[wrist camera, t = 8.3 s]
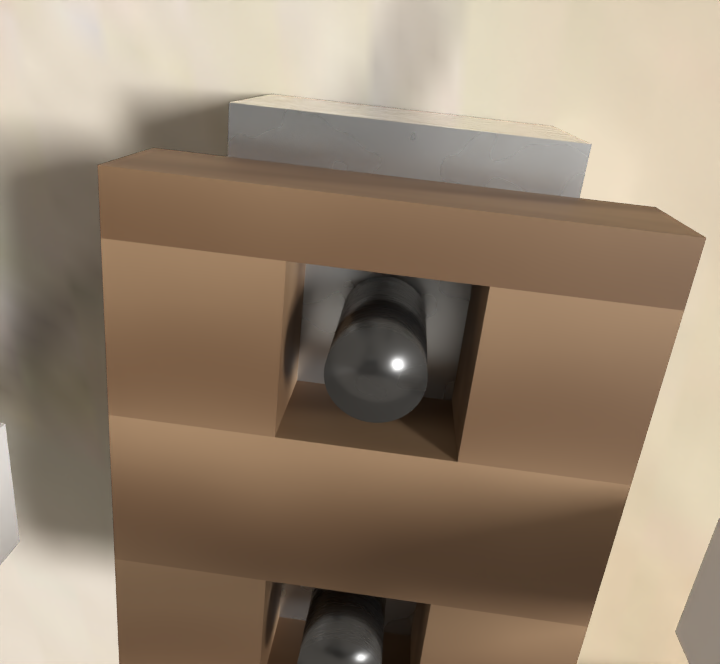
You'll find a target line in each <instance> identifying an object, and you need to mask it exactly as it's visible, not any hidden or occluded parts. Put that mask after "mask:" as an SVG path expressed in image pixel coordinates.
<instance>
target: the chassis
mask: <svg viewBox="0 0 720 664" xmlns="http://www.w3.org/2000/svg"><path fill="white" fill-rule="evenodd" d="M591 145H592V144H590V143H588V142H586V141H584V140H582V139H579V138H577V137H575V136H573V135H571V134H569V133H567V132H564V131H562V130H560V129H558V128H556V127H554V126H546V125H538V124H529V123H520V122H511V121H503V120H494V119H485V118H476V117H468V116H459V115H450V114H441V113H433V112H424V111H415V110H407V109H398V108H389V107H380V106H372V105H363V104H354V103H345V102H337V101H328V100H319V99H310V98H302V97H293V96H284V95H276V94H269V95H264V96H259V97H254V98H249V99H244V100H239V101H234V102H229V123H228V157H236V158H244V159H252V160H261V161H269V162H278V163H286V164H295V165H303V166H312V167H320V168H328V169H337V170H345V171H354V172H362V173H371V174H379V175H387V176H396V177H404V178H413V179H421V180H430V181H438V182H447V183H455V184H463V185H472V186H480V187H489V188H497V189H506V190H514V191H522V192H531V193H539V194H548V195H556V196H565V197H573V198H580V193H581V189H582V184H583V180H584V176H585V171H586V167H587V162H588V158H589V153H590V149H591ZM471 288H472V284H465V283H457V282H449V281H441V280H433V279H425V278H417V277H409V276H401V275H393V274H385V273H377V272H369V271H361V270H353V269H345V268H337V267H329V266H320V265H312V264H306V269H305V282H304V295H303V309H302V322H301V335H300V348H299V361H298V375H297V380H299V381H306V382H314V383H321V384H325V386H326V389H327V392H328V394H329V396H330V398H331V399H332V401H333V402H334V403H335V404H336V405H337V406H338V407H339V408H340V409H341V410H342V411H343V412H345V413H346V414H348V415H349V416H351V417H353V418H356V419H358V420H361V421H365V422H372V423H383V422H390V421H393V420H396V419H399V418H401V417H403V416H405V415H406V414H408V413H409V412H411V411H412V410H413V409H414V408H415V407H416V406H417V405H418V403H419V402H420V401H421V399H422V397H428V398H436V399H443V400H451V401H452V397H453V391H454V385H455V380H456V374H457V368H458V363H459V357H460V351H461V345H462V340H463V334H464V328H465V323H466V317H467V311H468V305H469V300H470V294H471ZM416 603H417V602H411V601H404V600H397V599H390V598H383V597H376V596H369V595H362V594H355V593H348V592H341V591H334V590H327V589H320V588H314V587H307V586H300V585H293V584H286V583H282V586H281V599H280V613H279V617H284V618H291V619H298V620H305V621H306V623H305V628H304V633H303V638H302V643H301V647H300V652H299V657H298V662H297V664H382V651H383V636H384V632H387V633H394V634H401V635H408V636H411V631H412V626H413V620H414V614H415V608H416Z"/></svg>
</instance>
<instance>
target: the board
mask: <svg viewBox="0 0 720 664" xmlns="http://www.w3.org/2000/svg"><path fill="white" fill-rule="evenodd" d="M98 185H99V208H100V231H101V254H102V277H103V300H104V323H105V346H106V369H107V392H108V415H109V438H110V461H111V484H112V507H113V530H114V553H115V576H116V599H117V622H118V645H119V664H297V662H298V657H299V652H300V647H301V643H302V638H303V633H304V628H305V623H306V621H305V620H298V619H291V618H284V617H279V613H280V599H281V586H282V583H286V584H293V585H300V586H307V587H314V588H320V589H327V590H334V591H341V592H348V593H355V594H362V595H369V596H376V597H383V598H390V599H397V600H404V601H411V602H417V603H416V608H415V614H414V620H413V626H412V631H411V636H408V635H401V634H394V633H387V632H384V636H383V651H382V664H576V663H577V660H578V657H579V654H580V650H581V647H582V644H583V640H584V637H585V634H586V631H587V627H588V624H589V621H590V618H591V614H592V611H593V608H594V604H595V601H596V598H597V595H598V591H599V588H600V585H601V581H602V578H603V575H604V572H605V568H606V565H607V562H608V558H609V555H610V552H611V549H612V545H613V542H614V539H615V536H616V532H617V529H618V526H619V522H620V519H621V516H622V513H623V509H624V506H625V503H626V499H627V496H628V493H629V490H630V486H631V483H632V480H633V477H634V473H635V470H636V467H637V463H638V460H639V457H640V454H641V450H642V447H643V444H644V440H645V437H646V434H647V431H648V427H649V424H650V421H651V417H652V414H653V411H654V408H655V404H656V401H657V398H658V395H659V391H660V388H661V385H662V381H663V378H664V375H665V372H666V368H667V365H668V362H669V358H670V355H671V352H672V349H673V345H674V342H675V339H676V336H677V332H678V329H679V326H680V322H681V319H682V316H683V313H684V309H685V306H686V303H687V299H688V296H689V293H690V290H691V286H692V283H693V280H694V276H695V273H696V270H697V267H698V263H699V260H700V257H701V254H702V250H703V247H704V244H705V240H706V238H705V237H704V236H702V235H701V234H699V233H697V232H696V231H694V230H692V229H691V228H689V227H687V226H686V225H684V224H682V223H681V222H679V221H677V220H676V219H674V218H673V217H671V216H669V215H668V214H666V213H664V212H663V211H661V210H659V209H658V208H656V207H649V206H641V205H632V204H624V203H615V202H607V201H598V200H590V199H582V198H573V197H565V196H556V195H548V194H539V193H531V192H522V191H514V190H506V189H497V188H489V187H480V186H472V185H463V184H455V183H447V182H438V181H430V180H421V179H413V178H404V177H396V176H387V175H379V174H371V173H362V172H354V171H345V170H337V169H328V168H320V167H312V166H303V165H295V164H286V163H278V162H269V161H261V160H252V159H244V158H236V157H227V156H219V155H210V154H202V153H193V152H185V151H177V150H168V149H160V148H151V149H147V150H144V151H141V152H138V153H135V154H131V155H128V156H125V157H122V158H118V159H115V160H112V161H109V162H106V163H102V164H99V165H98ZM306 264H312V265H320V266H329V267H337V268H345V269H353V270H361V271H369V272H377V273H385V274H393V275H401V276H409V277H417V278H425V279H433V280H441V281H449V282H457V283H465V284H472V288H471V294H470V300H469V305H468V311H467V317H466V323H465V328H464V334H463V340H462V345H461V351H460V357H459V363H458V368H457V374H456V380H455V385H454V391H453V397H452V401H451V400H443V399H436V398H428V397H422V399H421V401H420V402H419V403H418V405H417V406H416V407H415V408H414V409H413V410H412V411H411V412H409V413H408V414H406V415H405V416H403V417H401V418H399V419H396V420H393V421H390V422H383V423H372V422H365V421H361V420H358V419H356V418H353V417H351V416H349V415H348V414H346V413H345V412H343V411H342V410H341V409H340V408H339V407H338V406H337V405H336V404H335V403H334V402H333V401H332V399H331V398H330V396H329V394H328V392H327V389H326V386H325V384H321V383H314V382H306V381H299V380H297V375H298V361H299V348H300V335H301V322H302V309H303V295H304V282H305V269H306Z"/></svg>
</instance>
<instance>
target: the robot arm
mask: <svg viewBox="0 0 720 664" xmlns="http://www.w3.org/2000/svg"><path fill="white" fill-rule="evenodd" d="M19 541H20V538H19V530H18V522H17V514H16V506H15V498H14V489H13V481H12V473H11V465H10V457H9V449H8V441H7V433H6V425H5V423H0V565H1V564H2V562H3V561H4V560H5V559H6V557H7V556H8V555H9V554H10V553H11V551H12V550H13V549H14V548H15V546H16V545H17V544H18V543H19ZM675 632H676V635H677V637H678V639H679V642H680V644H681V646H682V648H683V651H684V653H685V655H686V657H687V660H688V662H689V664H720V518H719V520H718V523H717V525H716V528H715V530H714V533H713V535H712V538H711V541H710V543H709V546H708V548H707V551H706V553H705V556H704V559H703V561H702V564H701V566H700V569H699V571H698V574H697V577H696V579H695V582H694V584H693V587H692V589H691V592H690V595H689V597H688V600H687V602H686V605H685V608H684V610H683V613H682V615H681V618H680V620H679V623H678V626H677V628H676V631H675Z"/></svg>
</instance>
